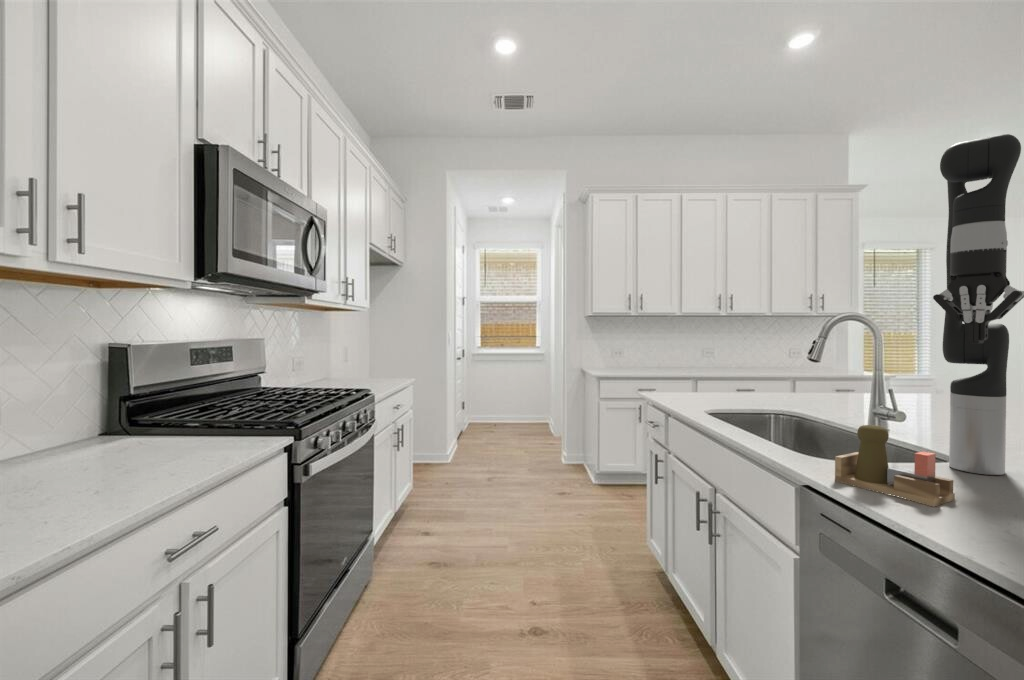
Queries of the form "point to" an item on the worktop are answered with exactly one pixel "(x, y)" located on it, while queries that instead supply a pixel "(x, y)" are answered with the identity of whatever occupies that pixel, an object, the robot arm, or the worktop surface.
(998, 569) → the worktop surface
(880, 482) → the olive rounded piece
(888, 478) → the red grey l-shaped block
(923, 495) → the light brown wooden holder
